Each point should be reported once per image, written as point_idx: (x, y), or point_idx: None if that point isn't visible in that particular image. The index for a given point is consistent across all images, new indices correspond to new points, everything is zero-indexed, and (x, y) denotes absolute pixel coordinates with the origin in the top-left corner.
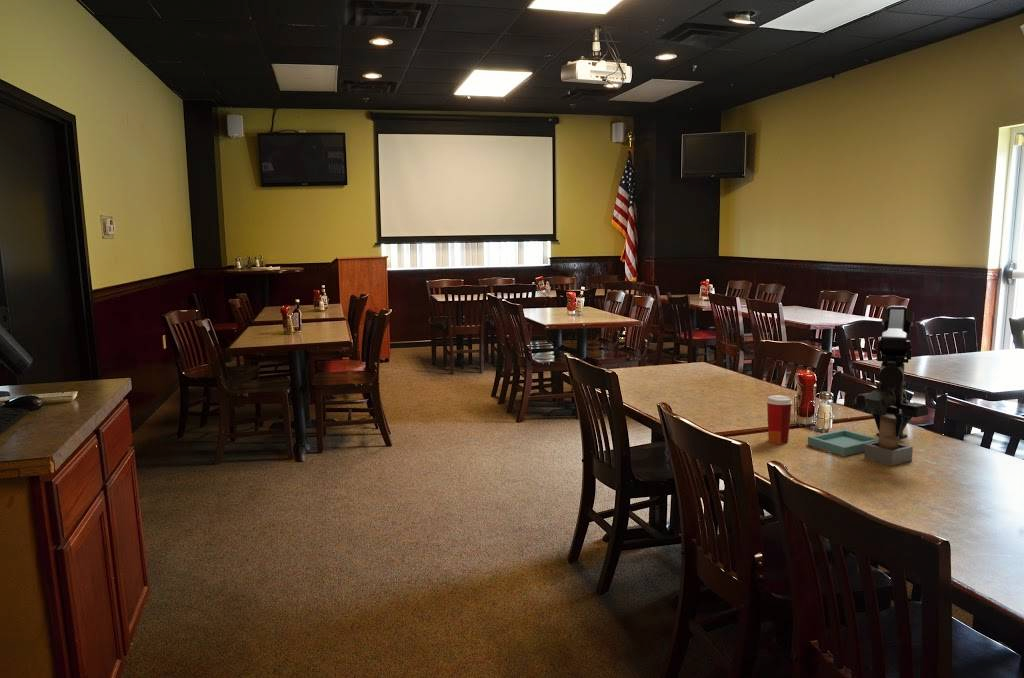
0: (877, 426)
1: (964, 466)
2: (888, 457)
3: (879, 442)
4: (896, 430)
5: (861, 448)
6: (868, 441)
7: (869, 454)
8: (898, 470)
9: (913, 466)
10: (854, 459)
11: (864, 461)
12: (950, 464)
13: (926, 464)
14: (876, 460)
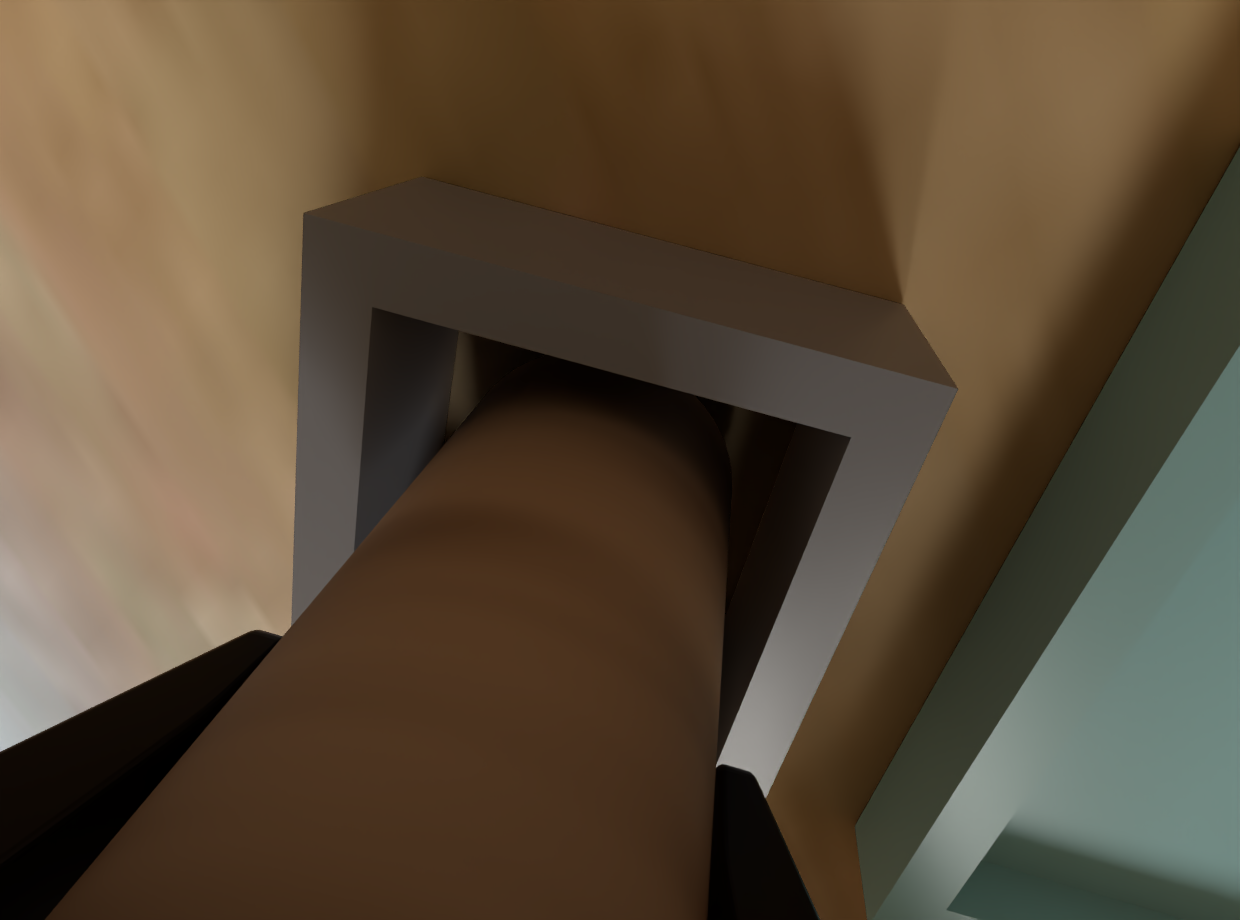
0: (795, 898)
1: (12, 678)
2: (440, 212)
3: (676, 501)
4: (155, 730)
5: (1040, 565)
6: (1000, 775)
7: (817, 299)
8: (243, 11)
9: (248, 364)
10: (1020, 70)
11: (831, 86)
12: (106, 666)
13: (219, 534)
14: (683, 250)
